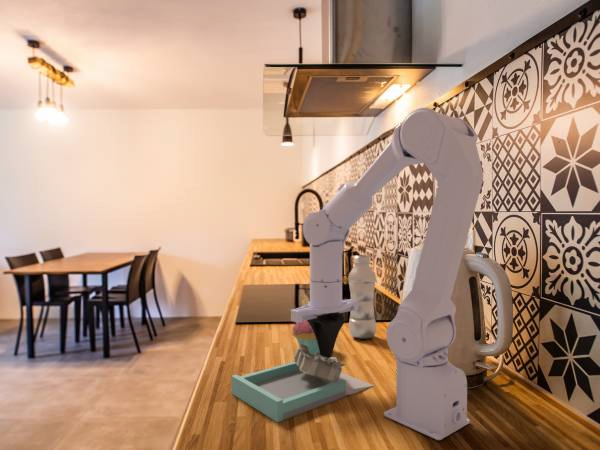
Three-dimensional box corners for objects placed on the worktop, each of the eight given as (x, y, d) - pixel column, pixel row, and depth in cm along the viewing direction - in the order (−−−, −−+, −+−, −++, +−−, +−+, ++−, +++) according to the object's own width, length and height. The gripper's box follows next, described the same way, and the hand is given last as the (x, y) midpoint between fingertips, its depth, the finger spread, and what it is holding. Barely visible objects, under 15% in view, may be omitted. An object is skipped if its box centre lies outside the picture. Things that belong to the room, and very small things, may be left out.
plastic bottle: (376, 342, 101) (376, 257, 100) (347, 340, 102) (347, 256, 101) (376, 334, 107) (376, 254, 106) (349, 333, 108) (349, 254, 108)
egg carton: (291, 359, 80) (298, 337, 80) (328, 373, 80) (335, 351, 81) (297, 370, 69) (306, 345, 70) (340, 386, 70) (349, 361, 70)
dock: (374, 390, 75) (374, 368, 75) (277, 427, 62) (277, 401, 62) (324, 369, 85) (324, 350, 85) (231, 398, 72) (231, 375, 72)
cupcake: (297, 359, 89) (297, 301, 89) (288, 346, 97) (287, 294, 97) (336, 355, 91) (336, 299, 91) (323, 343, 100) (323, 292, 99)
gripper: (339, 274, 84) (339, 343, 84) (279, 281, 75) (280, 359, 75) (366, 278, 78) (366, 352, 79) (306, 286, 69) (306, 370, 69)
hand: (326, 356), depth 76 cm, fingers closed, pressing on egg carton
